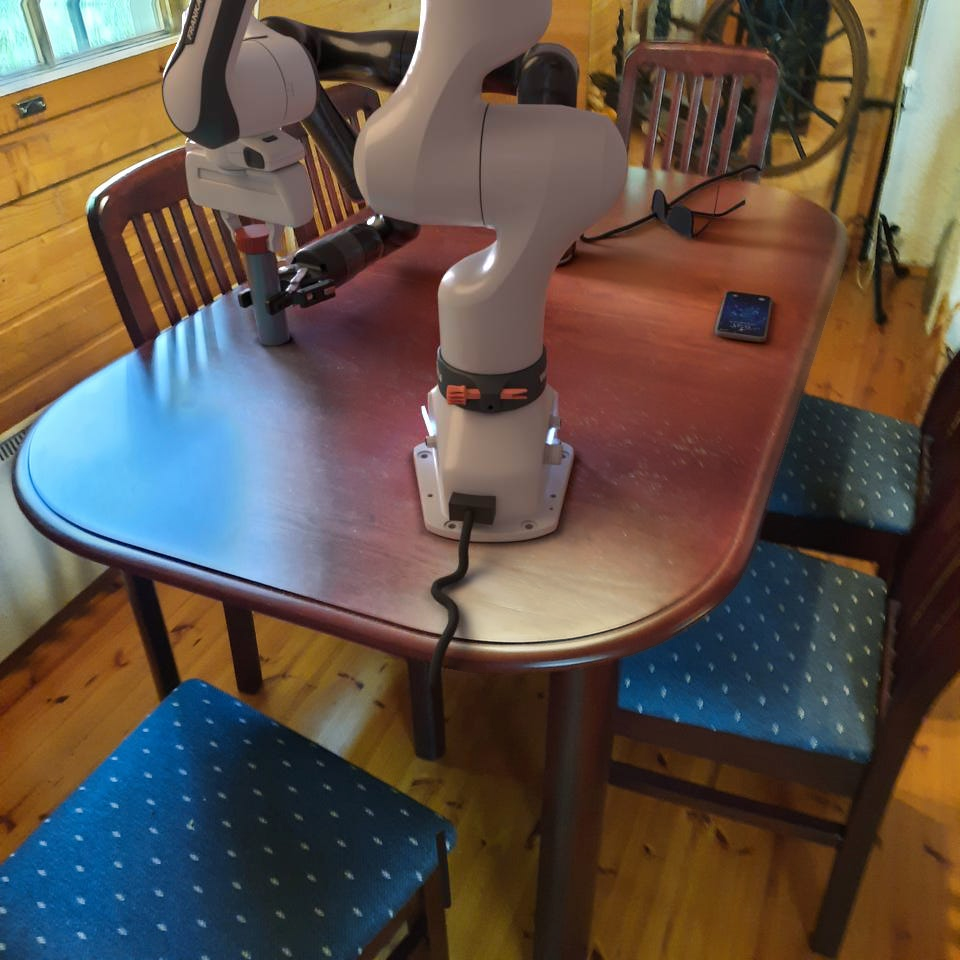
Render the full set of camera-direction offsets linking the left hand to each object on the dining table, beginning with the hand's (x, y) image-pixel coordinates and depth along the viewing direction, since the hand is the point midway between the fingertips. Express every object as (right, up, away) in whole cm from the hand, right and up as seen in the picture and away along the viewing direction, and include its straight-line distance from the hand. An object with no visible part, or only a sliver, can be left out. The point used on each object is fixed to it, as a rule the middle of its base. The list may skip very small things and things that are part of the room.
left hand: (257, 246), depth 118 cm
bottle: (0, -11, +8) cm, 14 cm away
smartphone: (+70, -8, +10) cm, 71 cm away
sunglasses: (+72, +16, +43) cm, 85 cm away
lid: (0, +1, -1) cm, 2 cm away
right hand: (-1, -8, +3) cm, 8 cm away
